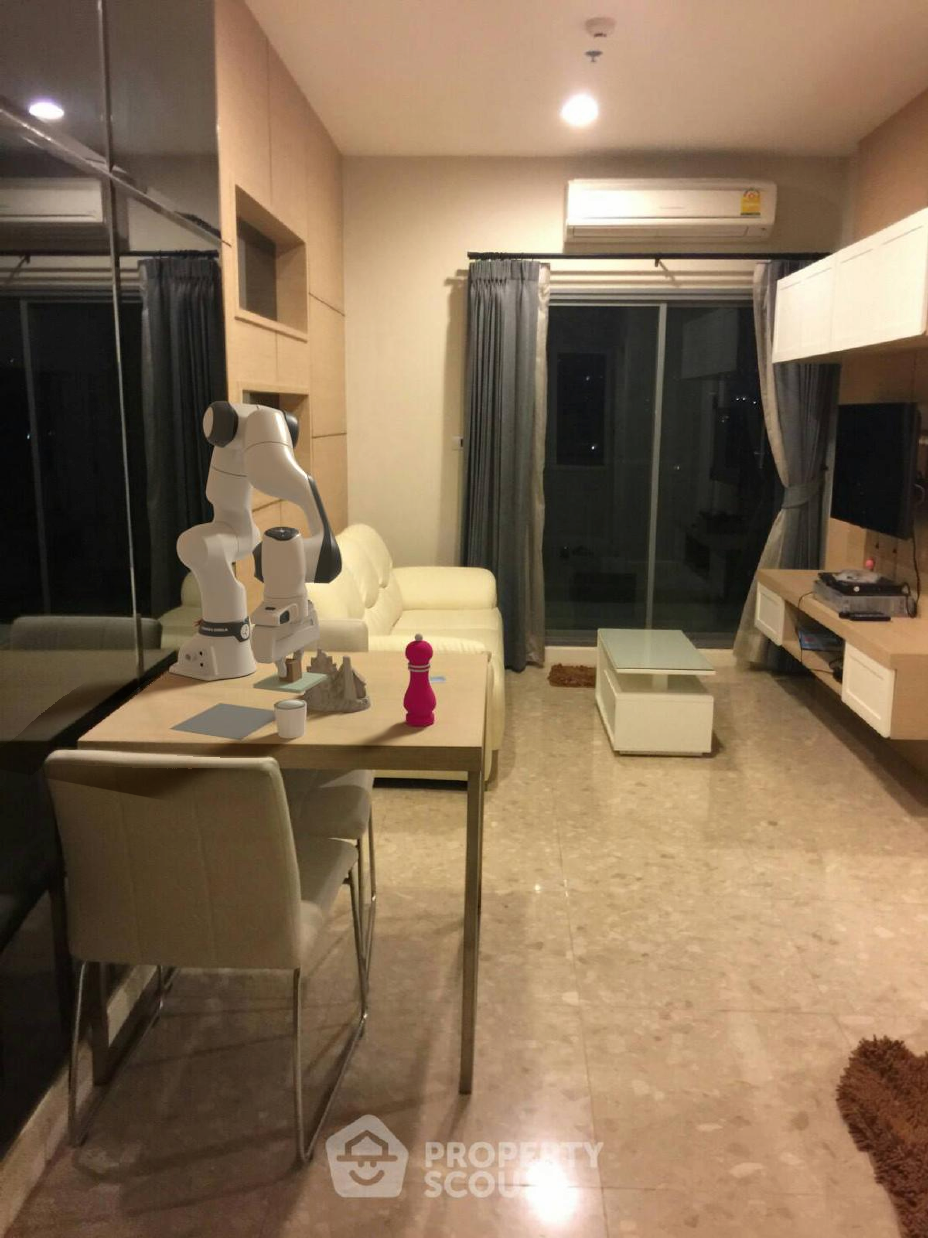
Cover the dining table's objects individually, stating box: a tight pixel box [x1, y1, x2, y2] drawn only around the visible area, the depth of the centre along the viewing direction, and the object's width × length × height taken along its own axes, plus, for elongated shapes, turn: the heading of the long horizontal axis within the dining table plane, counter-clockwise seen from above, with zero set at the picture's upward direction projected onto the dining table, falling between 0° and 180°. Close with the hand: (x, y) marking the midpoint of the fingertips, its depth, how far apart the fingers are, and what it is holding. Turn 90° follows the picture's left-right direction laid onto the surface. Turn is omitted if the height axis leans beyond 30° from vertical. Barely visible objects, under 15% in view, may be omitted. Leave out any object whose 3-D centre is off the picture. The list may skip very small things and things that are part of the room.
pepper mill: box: [402, 633, 437, 728], centre depth 200 cm, size 7×7×20 cm
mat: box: [169, 702, 276, 741], centre depth 202 cm, size 18×18×1 cm
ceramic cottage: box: [301, 646, 372, 713], centre depth 214 cm, size 16×16×15 cm
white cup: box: [273, 698, 308, 739], centre depth 194 cm, size 7×7×7 cm
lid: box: [252, 657, 327, 695], centre depth 191 cm, size 11×11×5 cm
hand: (290, 672), depth 191 cm, fingers closed on lid, 3 cm apart
